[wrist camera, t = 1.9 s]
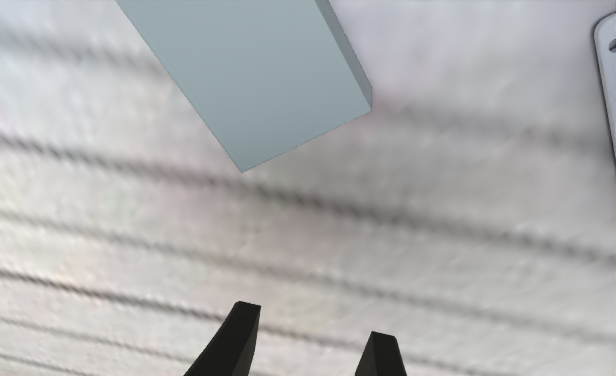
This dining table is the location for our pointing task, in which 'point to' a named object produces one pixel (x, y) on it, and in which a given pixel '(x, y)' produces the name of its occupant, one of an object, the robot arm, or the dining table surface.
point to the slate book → (257, 69)
